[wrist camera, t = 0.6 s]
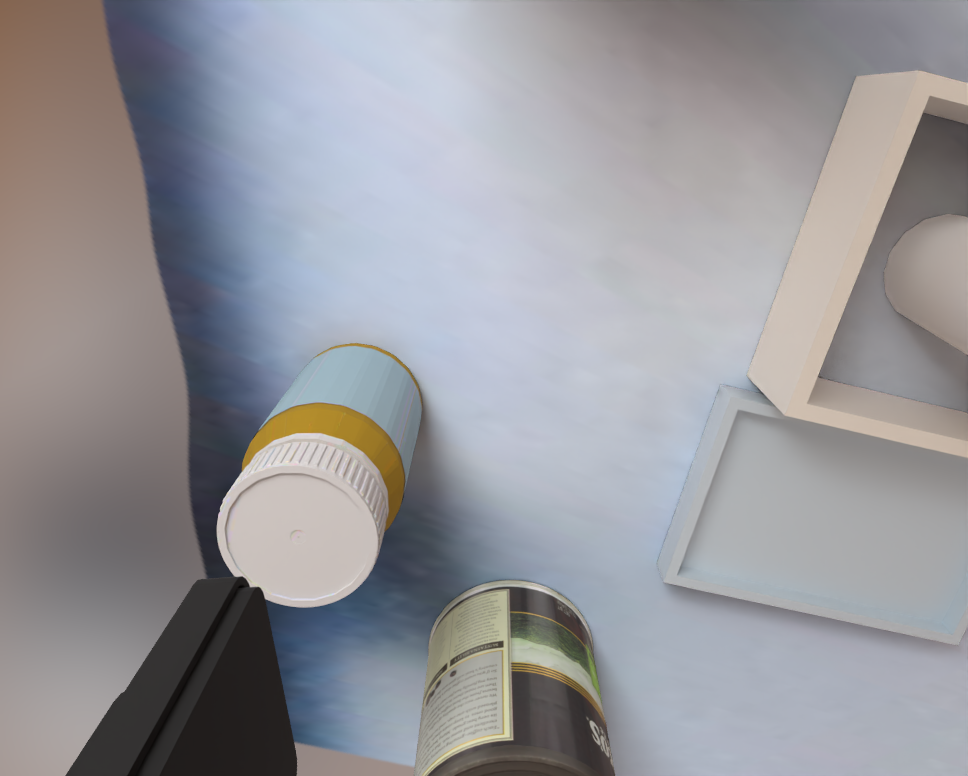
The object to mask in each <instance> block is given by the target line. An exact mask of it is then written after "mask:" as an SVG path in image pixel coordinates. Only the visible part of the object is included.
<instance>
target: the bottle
mask: <svg viewBox="0 0 968 776" xmlns="http://www.w3.org/2000/svg"><path fill="white" fill-rule="evenodd" d="M421 413H422V399H421V394H420V390H419V386H418V384H417V382H416V380H415V378H414V377H413V375H412V373H411V372H410V370H409V369H408V368H407V366H405V365H404V364H403V363H402V362H401V361H400V360H399V359H398V358H397V357H396V356H394V355H393V354H391V353H389V352H387V351H385V350H382V349H380V348H378V347H375V346H372V345H365V344H358V343H351V344H345V345H338V346H335V347H332V348H330V349H328V350H326V351H324V352H322V353H320V354H318V355H317V356H316V357H315V358H314V359H313V360H312V361H311V362H310V363H309V364H308V365H307V366H306V367H305V368H304V369H303V370H302V371H301V373H300V374H299V375H298V377H297V378H296V380H295V381H294V382H293V384H292V385H291V386H290V388H289V389H288V390H287V392H286V393H285V395H284V396H283V397H282V399H281V400H280V401H279V403H278V404H277V406H276V407H275V408H274V410H273V411H272V412H271V414H270V415H269V416H268V418H267V419H266V421H265V422H264V423H263V425H262V426H261V427H260V429H259V430H258V432H257V433H256V435H255V436H254V438H253V440H252V441H251V443H250V445H249V447H248V450H247V452H246V454H245V457H244V459H243V464H242V473H241V474H240V476H239V477H238V478H237V480H236V481H235V483H234V484H233V486H232V487H231V489H230V490H229V491H228V493H227V495H226V497H225V498H224V500H223V504H222V505H221V507H220V513H219V515H218V522H217V539H218V545H219V548H220V552H221V554H222V557H223V559H224V561H225V563H226V565H227V566H228V568H229V569H230V571H231V572H232V573H233V575H234V576H235V577H240V576H243V577H244V578H246V579H247V581H248V583H249V585H250V587H260V588H261V589H262V591H263V593H264V597H265V599H267V600H269V601H272V602H275V603H278V604H282V605H286V606H292V607H316V606H322V605H326V604H329V603H333V602H335V601H338V600H340V599H342V598H344V597H346V596H347V595H349V594H350V593H352V592H353V591H354V590H355V589H357V588H358V587H359V586H360V585H361V584H362V583H363V581H364V580H365V579H366V578H367V577H368V576H369V573H370V572H371V571H372V570H373V566H374V565H375V563H376V560H377V557H378V555H379V551H380V547H381V543H382V539H383V535H384V532H385V531H386V530H387V529H388V528H389V527H390V525H391V524H392V522H393V520H394V519H395V517H396V515H397V513H398V511H399V509H400V506H401V503H402V500H403V496H404V492H405V488H406V483H407V479H408V475H409V470H410V466H411V462H412V457H413V453H414V449H415V444H416V440H417V436H418V431H419V427H420V421H421Z"/></svg>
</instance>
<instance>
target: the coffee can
mask: <svg viewBox="0 0 968 776" xmlns="http://www.w3.org/2000/svg"><path fill="white" fill-rule="evenodd" d="M428 656H429V657H428V665H427V674H426V682H425V690H424V698H423V706H422V714H421V722H420V730H419V738H418V746H417V754H416V762H415V770H414V776H615V772H614V766H613V759H612V755H611V749H610V744H609V739H608V734H607V727H606V722H605V717H604V711H603V706H602V700H601V695H600V689H599V684H598V678H597V672H596V666H595V662H594V656H593V643H592V637H591V633H590V630H589V627H588V625H587V623H586V621H585V619H584V618H583V616H582V615H581V613H580V612H579V610H578V609H577V608H576V607H575V606H574V605H573V604H572V603H571V602H570V601H569V600H568V599H567V598H565V597H564V596H562V595H561V594H559V593H557V592H556V591H554V590H552V589H550V588H548V587H545V586H543V585H539V584H536V583H532V582H527V581H520V580H499V581H494V582H489V583H485V584H482V585H479V586H476V587H474V588H472V589H470V590H468V591H465V592H464V593H462V594H461V595H459V596H458V597H456V598H455V599H454V600H452V601H451V602H450V603H449V604H448V605H447V606H446V607H445V608H444V610H443V611H442V612H441V614H440V615H439V616H438V618H437V620H436V622H435V624H434V626H433V628H432V630H431V635H430V639H429V649H428Z"/></svg>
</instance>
